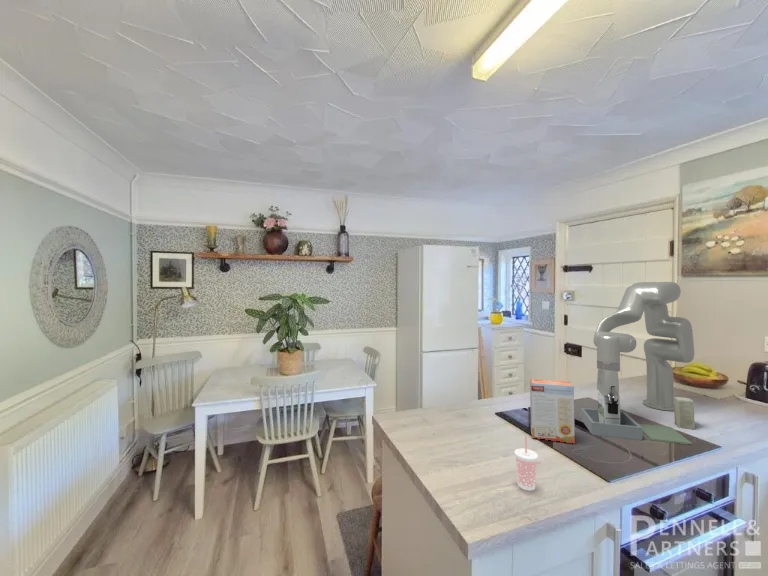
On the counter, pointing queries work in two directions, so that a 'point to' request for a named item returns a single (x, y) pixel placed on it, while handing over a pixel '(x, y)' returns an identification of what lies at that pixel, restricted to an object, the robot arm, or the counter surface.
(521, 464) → the beverage cup
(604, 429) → the parts bin
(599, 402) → the syrup box
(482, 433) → the counter surface
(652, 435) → the mat
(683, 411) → the box
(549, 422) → the cracker box
